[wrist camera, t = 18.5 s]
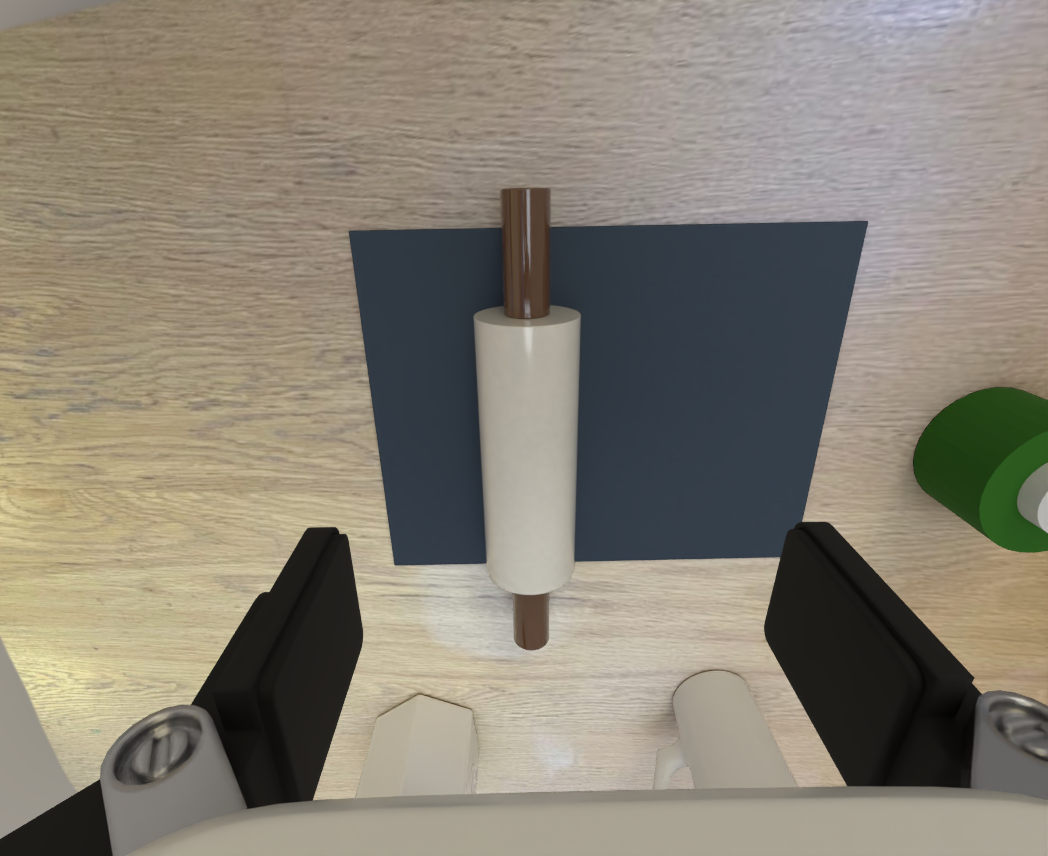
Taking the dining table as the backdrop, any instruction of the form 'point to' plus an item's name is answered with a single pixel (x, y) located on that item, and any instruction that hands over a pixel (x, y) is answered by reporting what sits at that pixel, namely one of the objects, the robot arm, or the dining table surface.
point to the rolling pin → (528, 420)
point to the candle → (991, 465)
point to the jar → (421, 751)
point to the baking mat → (617, 380)
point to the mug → (721, 737)
